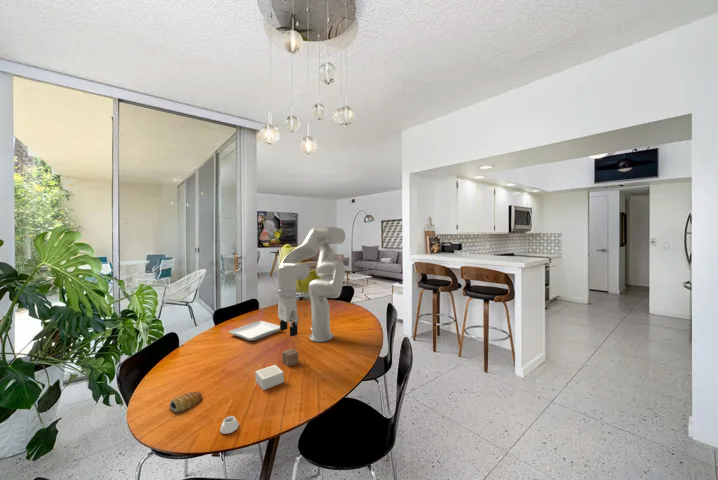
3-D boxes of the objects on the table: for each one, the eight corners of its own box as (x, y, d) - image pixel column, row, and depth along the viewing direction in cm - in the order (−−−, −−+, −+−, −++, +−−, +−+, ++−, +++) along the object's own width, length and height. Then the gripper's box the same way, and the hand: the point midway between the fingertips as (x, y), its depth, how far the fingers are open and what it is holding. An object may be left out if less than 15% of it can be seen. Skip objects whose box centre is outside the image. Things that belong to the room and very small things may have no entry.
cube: (282, 362, 125) (282, 351, 125) (293, 359, 129) (292, 348, 128) (287, 366, 122) (287, 355, 121) (298, 363, 125) (297, 351, 124)
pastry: (196, 394, 103) (195, 384, 103) (206, 400, 99) (206, 389, 99) (167, 408, 95) (167, 397, 95) (177, 415, 92) (177, 404, 91)
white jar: (216, 434, 83) (232, 436, 82) (215, 424, 82) (231, 426, 82) (227, 422, 88) (242, 424, 87) (226, 413, 87) (241, 414, 86)
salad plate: (260, 325, 176) (260, 319, 176) (283, 331, 164) (283, 326, 164) (228, 336, 159) (227, 330, 159) (250, 344, 147) (250, 338, 146)
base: (255, 381, 110) (255, 371, 110) (275, 374, 115) (275, 364, 115) (263, 390, 104) (262, 379, 104) (283, 382, 109) (283, 371, 109)
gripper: (271, 291, 128) (272, 329, 128) (288, 298, 114) (289, 340, 115) (286, 289, 133) (287, 326, 133) (304, 295, 119) (306, 335, 120)
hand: (288, 332), depth 124 cm, fingers open, 9 cm apart
